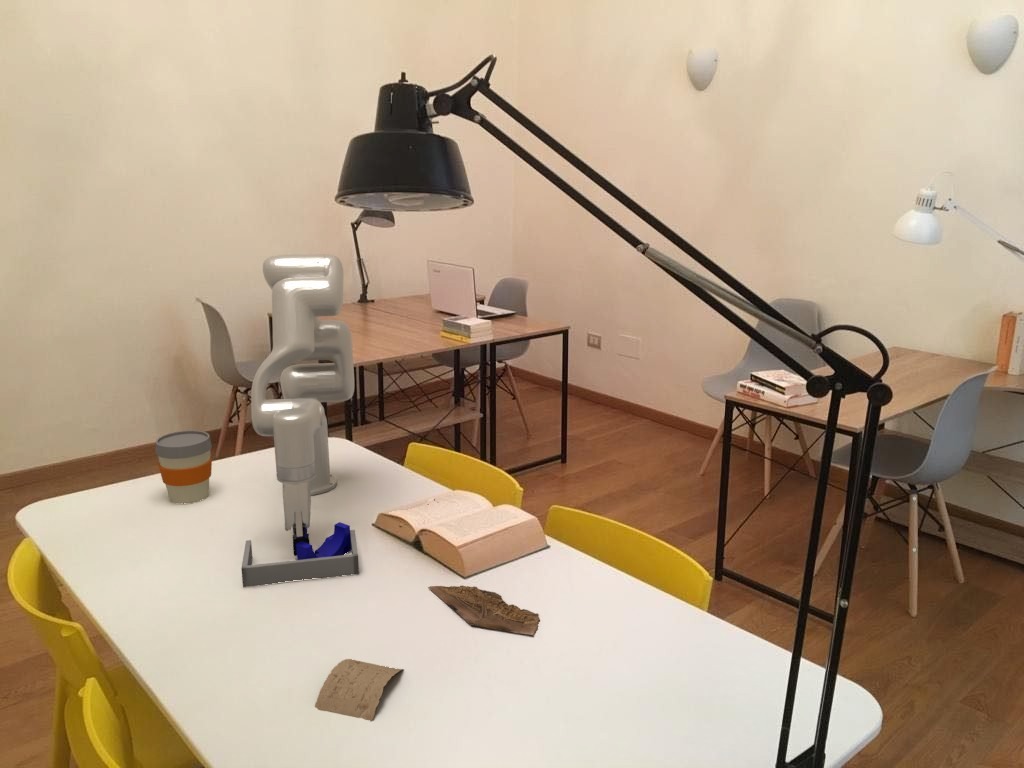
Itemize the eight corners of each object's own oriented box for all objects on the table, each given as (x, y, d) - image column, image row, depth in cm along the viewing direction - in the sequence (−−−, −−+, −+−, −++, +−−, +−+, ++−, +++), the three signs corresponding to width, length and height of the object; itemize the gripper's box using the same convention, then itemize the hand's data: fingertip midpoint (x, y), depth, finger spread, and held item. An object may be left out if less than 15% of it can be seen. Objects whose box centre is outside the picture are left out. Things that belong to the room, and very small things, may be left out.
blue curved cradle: (335, 546, 169) (334, 520, 168) (351, 551, 167) (349, 525, 165) (292, 569, 159) (290, 542, 158) (308, 575, 157) (306, 548, 155)
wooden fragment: (555, 624, 141) (555, 619, 141) (514, 651, 133) (514, 646, 133) (454, 575, 158) (454, 570, 157) (412, 597, 150) (412, 592, 149)
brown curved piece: (372, 727, 115) (371, 711, 115) (308, 716, 118) (307, 700, 117) (407, 668, 129) (406, 654, 128) (350, 659, 131) (349, 645, 131)
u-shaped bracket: (247, 558, 163) (245, 540, 162) (355, 546, 168) (354, 529, 167) (243, 587, 152) (241, 568, 151) (359, 574, 157) (358, 555, 156)
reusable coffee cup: (205, 507, 187) (198, 447, 183) (152, 507, 187) (144, 447, 183) (224, 486, 199) (218, 430, 195) (174, 486, 199) (167, 429, 195)
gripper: (277, 458, 164) (284, 539, 169) (275, 486, 150) (281, 573, 155) (315, 455, 166) (320, 535, 171) (315, 482, 152) (321, 568, 157)
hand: (301, 553), depth 163 cm, fingers closed
